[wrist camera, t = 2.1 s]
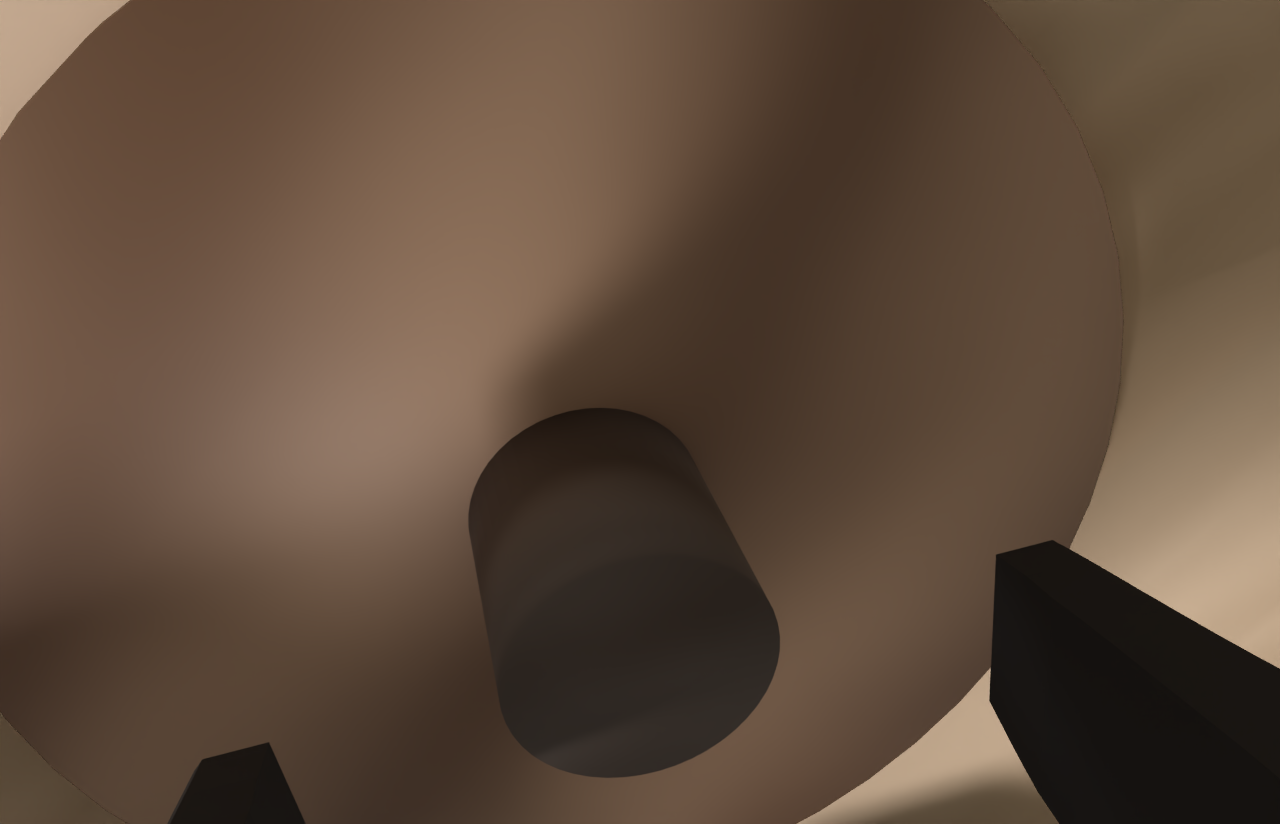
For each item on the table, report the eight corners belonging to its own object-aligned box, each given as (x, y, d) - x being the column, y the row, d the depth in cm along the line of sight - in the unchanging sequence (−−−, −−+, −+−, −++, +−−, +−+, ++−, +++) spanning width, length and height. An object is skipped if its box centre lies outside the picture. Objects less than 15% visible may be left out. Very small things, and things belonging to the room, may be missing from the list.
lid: (-141, 812, 15) (-284, 1118, 11) (66, -471, 9) (-99, -630, 6) (798, 888, 20) (890, 1107, 17) (1280, 130, 15) (1560, 229, 11)
